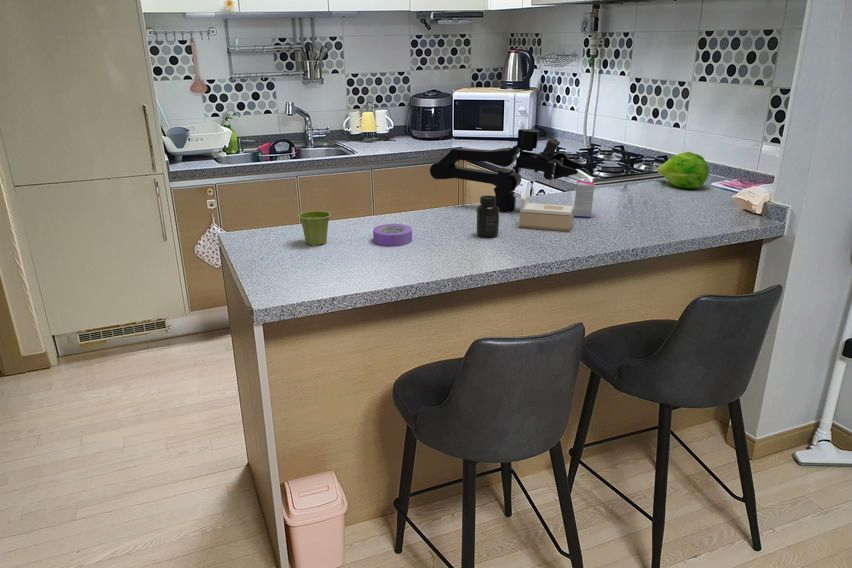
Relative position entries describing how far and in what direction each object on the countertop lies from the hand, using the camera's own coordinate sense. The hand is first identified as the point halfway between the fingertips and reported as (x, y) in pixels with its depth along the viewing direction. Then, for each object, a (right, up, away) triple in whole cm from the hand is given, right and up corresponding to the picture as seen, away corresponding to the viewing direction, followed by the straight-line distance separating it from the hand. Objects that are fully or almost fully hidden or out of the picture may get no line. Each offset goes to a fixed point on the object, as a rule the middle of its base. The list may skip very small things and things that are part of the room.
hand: (580, 169), depth 220 cm
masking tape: (-61, -25, -19) cm, 69 cm away
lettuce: (+52, +2, +51) cm, 72 cm away
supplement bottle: (-32, -23, -14) cm, 42 cm away
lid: (-12, -14, -7) cm, 20 cm away
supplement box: (+2, -15, +7) cm, 17 cm away
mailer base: (-12, -19, -5) cm, 23 cm away
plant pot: (-84, -26, -21) cm, 90 cm away
